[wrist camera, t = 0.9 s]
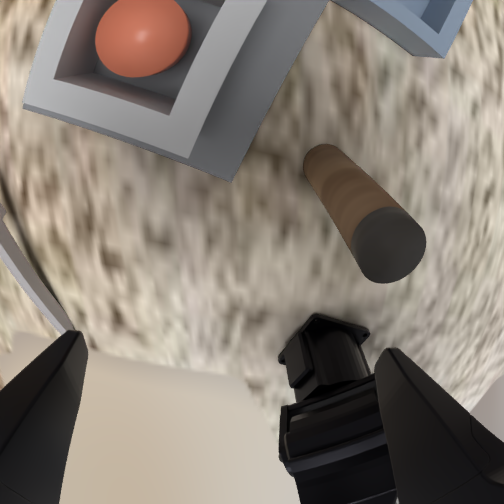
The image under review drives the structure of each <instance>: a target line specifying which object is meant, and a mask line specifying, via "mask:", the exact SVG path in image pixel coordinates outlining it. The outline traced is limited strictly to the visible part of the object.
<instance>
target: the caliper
mask: <svg viewBox="0 0 504 504" xmlns="http://www.w3.org/2000/svg"><path fill="white" fill-rule="evenodd" d="M5 214H6V210H5V208H4V207H3V206H2V205H1V203H0V258H1V259H2V261H3V262H4V263H5V265H6V266H7V268H8V269H9V271H10V272H11V273H12V275H13V276H14V277H15V279H16V280H17V282H18V283H19V284H20V286H21V287H22V288H23V290H24V291H25V292H26V293H27V295H28V296H29V297H30V299H31V300H32V301H33V302H34V304H35V305H36V306H37V307H38V308H39V310H40V311H41V312H42V313H43V314H44V316H45V317H46V318H47V319H48V320H49V321H50V323H51V324H52V325H53V326H54V327H55V328H56V329H57V331H58V332H59V333H60V334H61V335H62V334H64V333H65V332H66V331H67V330H70V329H71V330H75V329H74V328H73V324H72V323H71V321H70V319H69V318H68V316H67V314H66V312H65V311H64V310H63V309H62V307H61V306H60V305H59V303H58V302H57V301H56V300H55V298H54V297H53V296H52V294H51V293H50V292H49V290H48V289H47V288H46V286H45V285H44V284H43V282H42V281H41V279H40V278H39V277H38V275H37V274H36V272H35V271H34V269H33V268H32V266H31V265H30V263H29V262H28V260H27V259H26V257H25V256H24V254H23V253H22V251H21V250H20V248H19V246H18V245H17V243H16V242H15V240H14V238H13V237H12V235H11V233H10V232H9V230H8V228H7V227H6V225H5V223H4V222H3V220H2V219H3V217H4V215H5Z"/></svg>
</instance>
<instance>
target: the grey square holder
mask: <svg viewBox="0 0 504 504" xmlns="http://www.w3.org/2000/svg"><path fill="white" fill-rule="evenodd" d="M117 1H118V0H56V2H55V4H54V6H53V9H52V11H51V13H50V16H49V18H48V21H47V23H46V26H45V29H44V31H43V34H42V37H41V40H40V43H39V45H38V48H37V51H36V54H35V58H34V61H33V64H32V67H31V71H30V74H29V78H28V81H27V85H26V89H25V93H24V97H23V101H22V103H24V104H23V108H22V109H26V110H29V111H32V112H36V113H39V114H42V115H45V116H49V117H52V118H55V119H58V120H61V121H65V122H68V123H71V124H74V125H77V126H80V127H83V128H86V129H89V130H92V131H95V132H98V133H101V134H104V135H107V136H109V137H112V138H115V139H118V140H121V141H124V142H126V143H129V144H132V145H135V146H138V147H140V148H143V149H146V150H149V151H151V152H154V153H157V154H159V155H162V156H165V157H167V158H170V159H173V160H175V161H178V162H180V163H183V164H186V165H188V166H191V167H193V168H196V169H198V170H201V171H204V172H206V173H209V174H211V175H214V176H216V177H219V178H221V179H224V180H226V181H228V182H231V183H232V181H233V179H234V176H235V174H236V172H237V170H238V168H239V166H240V164H241V162H242V160H243V158H244V156H245V154H246V152H247V150H248V148H249V146H250V144H251V142H252V140H253V138H254V136H255V134H256V133H257V131H258V129H259V127H260V125H261V123H262V121H263V119H264V117H265V115H266V113H267V111H268V109H269V107H270V106H271V104H272V102H273V100H274V98H275V96H276V94H277V92H278V90H279V89H280V87H281V85H282V83H283V81H284V79H285V77H286V76H287V74H288V72H289V70H290V68H291V66H292V65H293V63H294V61H295V59H296V57H297V56H298V54H299V52H300V50H301V48H302V47H303V45H304V43H305V41H306V39H307V38H308V36H309V34H310V32H311V31H312V29H313V27H314V25H315V24H316V22H317V20H318V19H319V17H320V15H321V13H322V12H323V10H324V8H325V7H326V5H327V3H328V2H329V0H174V1H175V2H176V3H177V4H178V5H179V6H180V7H181V8H182V9H183V10H184V12H185V13H186V14H187V16H188V18H189V20H190V23H191V29H192V35H191V41H190V44H189V47H188V49H187V51H186V53H185V54H184V56H183V57H182V58H181V59H180V61H179V62H178V63H176V64H175V65H174V66H173V67H171V68H170V69H168V70H166V71H164V72H162V73H159V74H155V75H150V76H144V77H125V76H121V75H118V74H116V73H114V72H112V71H111V70H109V69H108V68H107V67H106V66H105V65H104V64H103V63H102V61H101V60H100V58H99V56H98V53H97V50H96V45H95V37H96V31H97V27H98V25H99V22H100V20H101V18H102V17H103V15H104V14H105V12H106V11H107V10H108V9H109V8H110V7H111V6H112V5H113V4H114V3H115V2H117Z"/></svg>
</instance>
